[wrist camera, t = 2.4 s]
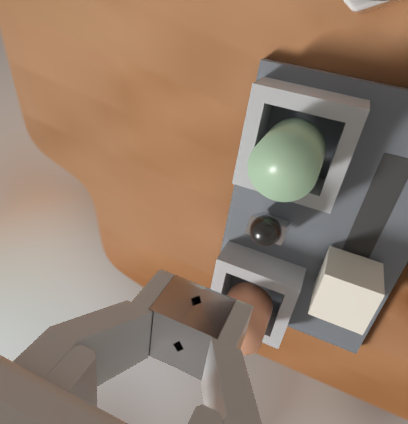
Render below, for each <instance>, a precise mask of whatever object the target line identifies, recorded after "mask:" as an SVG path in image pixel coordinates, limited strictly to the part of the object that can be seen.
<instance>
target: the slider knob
mask: <svg viewBox="0 0 408 424" xmlns="http://www.w3.org/2000/svg"><path fill="white" fill-rule="evenodd" d="M384 296H385V288H384V268H383V263H380V262H377V261H374V260H371V259H368V258H365V257H362V256H359V255H356V254H353V253H350V252H347V251H344V250H341V249H338V248H335V247H332V246H329V249H328V251H327V254H326V256H325V259H324V261H323V264H322V266H321V269H320V271H319V273H318V276H317V278H316V281H315V283H314V288H313V292H312V297H311V302H310V306H309V311H308V314H309V315H312V316H314V317H317V318H319V319H322V320H324V321H327V322H330V323H332V324H335V325H337V326H340V327H343V328H345V329H348V330H350V331H353V332H355V333H358V334H361V335H363V334H364V332H365V330H366V328H367V327H368V325H369V323H370V321H371V319H372V318H373V316H374V314H375V312H376V310H377V309H378V307H379V305H380V303H381V301H382V300H383V298H384Z"/></svg>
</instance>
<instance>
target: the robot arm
mask: <svg viewBox="0 0 408 424" xmlns="http://www.w3.org/2000/svg"><path fill="white" fill-rule="evenodd" d="M252 311H253V305H250V304H247V303H245V302H242V301H240V300H237V299H234V298H232V297H229V296H226V295H224V294H221V293H219V292H216V291H214V290H211V289H208V288H205V287H203V286H201V285H198V284H196V283H194V282H191V281H189V280H187V279H184V278H182V277H180V276H177V275H174V274H172V273H169V272H167V271H165V270H163V269H161V270H159V271H157V273H156V274H155V275H154V276H153V277H152V279H151V280H150V281H149V282H148V283H147V284H146V286H145V287H144V288H143V289H142V290H141V291H140V293H139V294H138V295H137V296H136V297H135V298H134V300H133V301H132V302H130V301H124V302H121V303H118V304H115V305H112V306H109V307H106V308H103V309H100V310H98V311H95V312H92V313H89V314H86V315H83V316H81V317H77V318H74V319H71V320H68V321H65V322H63V323H60V324H57V325H54V326H51V327H49V328H48V329H47V330H46V331H45V332H44V333H43V334H41V335H40V336H39V338H37V339H36V340H35V341H34V342H33V343H32V344H31V345H30V346H29V347H28V348H27V349H26V350H25V351H24V352H23V353H21V355H19V356H18V357H17V358H16V359H15V360H14V361H13V362H12V361H10V360H8V359H6V358H5V357H3V356H1V355H0V424H127V423H125V422H124V421H122V420H120V419H118V418H116V417H114V416H112V415H111V414H109V413H107V412H105V411H103V410H101V409H99V408H98V407H97V386H99V385H100V384H102V383H104V382H106V381H107V380H109V379H111V378H113V377H114V376H116V375H118V374H120V373H122V372H123V371H125V370H127V369H129V368H130V367H132V366H134V365H136V364H137V363H139V362H141V361H143V360H144V359H146V358H148V355H149V356H151V357H153V358H156V359H158V360H160V361H162V362H165V363H167V364H169V365H171V366H174V367H176V368H178V369H180V370H182V371H184V372H186V373H188V374H190V375H192V376H194V377H196V378H197V379H200V380H201V383H202V393H203V401H204V402H203V403H204V405H200V406H197V407H196V408H195V410H194V412H193V414H192V416H191V418H190V421H189V423H188V424H262V422H261V419H260V415H259V412H258V408H257V405H256V401H255V398H254V394H253V390H252V386H251V383H250V379H249V376H248V372H247V368H246V365H245V361H244V358H243V354H242V351H241V350H240V349H241V346H242V343H243V340H244V337H245V334H246V331H247V328H248V324H249V321H250V318H251V315H252Z"/></svg>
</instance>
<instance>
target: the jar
mask: <svg viewBox="0 0 408 424" xmlns="http://www.w3.org/2000/svg"><path fill="white" fill-rule="evenodd" d="M343 1H344V2H345V3H346V5H347V6H348V7H349V8H350V9H351V10H352V11H354V12H357V13H359V14H363V13H366V12H369V11H372V10H375V9H378V8H381V7H384V6H387V5H390V4H393V3H396V2H399V1H402V0H343Z"/></svg>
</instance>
